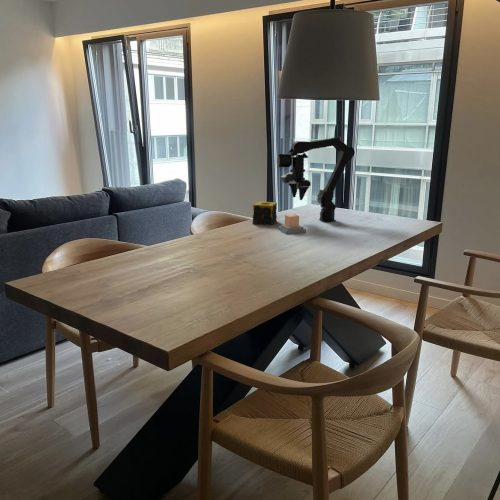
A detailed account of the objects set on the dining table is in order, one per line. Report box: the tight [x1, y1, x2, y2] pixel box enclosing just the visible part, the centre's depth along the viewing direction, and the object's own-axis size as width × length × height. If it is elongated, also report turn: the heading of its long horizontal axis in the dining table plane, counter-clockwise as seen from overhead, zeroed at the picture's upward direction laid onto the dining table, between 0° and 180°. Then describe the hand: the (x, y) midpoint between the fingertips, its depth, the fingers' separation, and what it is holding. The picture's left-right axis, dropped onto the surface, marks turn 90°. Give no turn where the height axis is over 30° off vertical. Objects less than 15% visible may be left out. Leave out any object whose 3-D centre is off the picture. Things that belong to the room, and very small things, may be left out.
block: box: [284, 213, 300, 227], centre depth 229 cm, size 5×5×5 cm
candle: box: [252, 201, 278, 226], centre depth 247 cm, size 10×10×10 cm
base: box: [277, 223, 307, 235], centre depth 230 cm, size 10×10×2 cm
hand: (297, 198), depth 246 cm, fingers open, 9 cm apart
